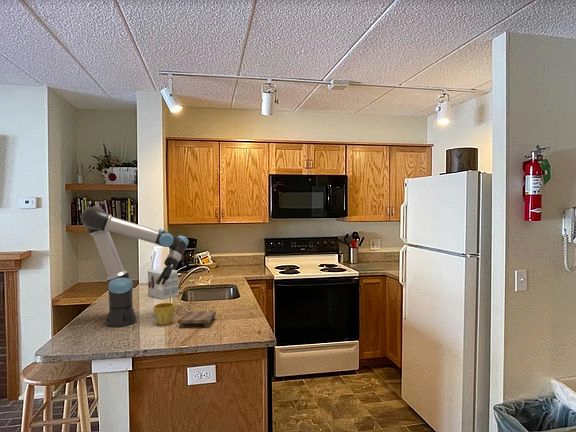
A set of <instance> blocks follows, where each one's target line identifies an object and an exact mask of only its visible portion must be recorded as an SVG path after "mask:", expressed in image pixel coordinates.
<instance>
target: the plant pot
mask: <svg viewBox="0 0 576 432" xmlns="http://www.w3.org/2000/svg"><path fill="white" fill-rule="evenodd" d="M174 311H175V304H174V303H172V302H161V303H157V304H155V305H154V306H153V312H154V314H155V317H156V320H157V324H158V325H160V326H166V325H167V326H168V325H169V324H171V323H172V319H173V315H174Z"/></svg>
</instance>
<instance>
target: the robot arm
mask: <svg viewBox="0 0 576 432" xmlns="http://www.w3.org/2000/svg"><path fill="white" fill-rule="evenodd" d="M80 220H81V223H82V225H83V226H84V227H85V228H86V230H87V232H88V235H90V236H92V238H93V239H94V240H93V241H94V242H95V245H96V247H97V249H98V253H99V256H100V258H101V260H102V263H103V266H104V268H105V271H106V274H107V278H106V282H107V283H108V288H107V289H108V307H109V308H108V313H107V316H106V320H105V325H106V327H111V328H119V327H126V326H130V325H133V324H135V323H137V315H136V313H135V309H134V307H133V289H134V283H133V280H132V279H131V277H130V274H129V272H128V271H127V270H125V269H124V267H123V264H122V262H121V259H120V257H119V254H118V251H117V249H116V245H115V243H114V240H113V238H112V236H111V233H112V232H113V233H115V234H120V235H123V236H126V237H130V238H133V239H138V240H140V241H144V242H147V243H151V244H155V245H158V246H161V247H163V248H169V250H170V251H169V252H168V254H167V256H166V258H165V260H164V263H163V264H164V265H165V267H164V268H163V269H164V270H163V272H162V274H161V275H160V277H159V279H158V280H157V282H156V285H155V287H154V288H153V290H152V292H151V294H152V295H154V296H155V295H156V293H157V291H158V290H160V291H162V290H163V288H164V286H165V284H166V282H167V280H168V278H169V277H170V275H171V272H172V270H176V268H177V267H178V265H179V262H180V261H182V257H183V255H184V253H185V251H186V249H187V247H188V245H189V243H190V241H189V239H188V238H187V237H186V236H184V235H177V236H175V235H173V234H171V233H170V232H167V231H166V230H164V229H162V228H159V229H154V228H152V227H147V226H144V225H141V224H137V223H134V222H131V221H128V220H124V219H122V218H118V217H114V216H112V214H111V213H108V212H106V211H105V210H104V209H103V208H101V207H99V206H91V207H88V208H86V209H84V210H83V212H82V213H81V216H80ZM110 232H111V233H110ZM158 282H159V283H158Z"/></svg>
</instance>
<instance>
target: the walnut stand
mask: <svg viewBox="0 0 576 432" xmlns="http://www.w3.org/2000/svg"><path fill="white" fill-rule="evenodd" d="M216 314H217V312H216V310H215V311H213V310H211V311H207V310H206V311H205V310H204V311H198V310H197V311H196V310H195V311H185V313H184V314H183V315H182V316H181V317H180V318H179V319H177V324H178V325H179V328H185V324H203V325H204V326H203V327H204V328H209V327H210V322H211V321H214V320H216V318H215V317H216Z"/></svg>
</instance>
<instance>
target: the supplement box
mask: <svg viewBox="0 0 576 432" xmlns="http://www.w3.org/2000/svg"><path fill="white" fill-rule="evenodd" d="M163 270H164V268H163V267H162V268H158V269H157V268H156V269H152V270H148V271H147V295H148V297H149V298H150V297H151V298H155V299H159V300H163V301H164V300H168V299H171V298H175V297H179V270H176V269H173V270H172V272H171V275H170V277H169V278H168V280H167V282H166V284H165V286H164V288H163V290H162V291H160V290H158V291H157V293H156V295H155V296H154V295H152V294H151V292H152V290H153V288H154V287H155V285H156V282H157V280H158V279H159V277H160V275H161V274H162V272H163ZM177 271H178V273H177ZM158 283H159V282H158Z"/></svg>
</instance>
